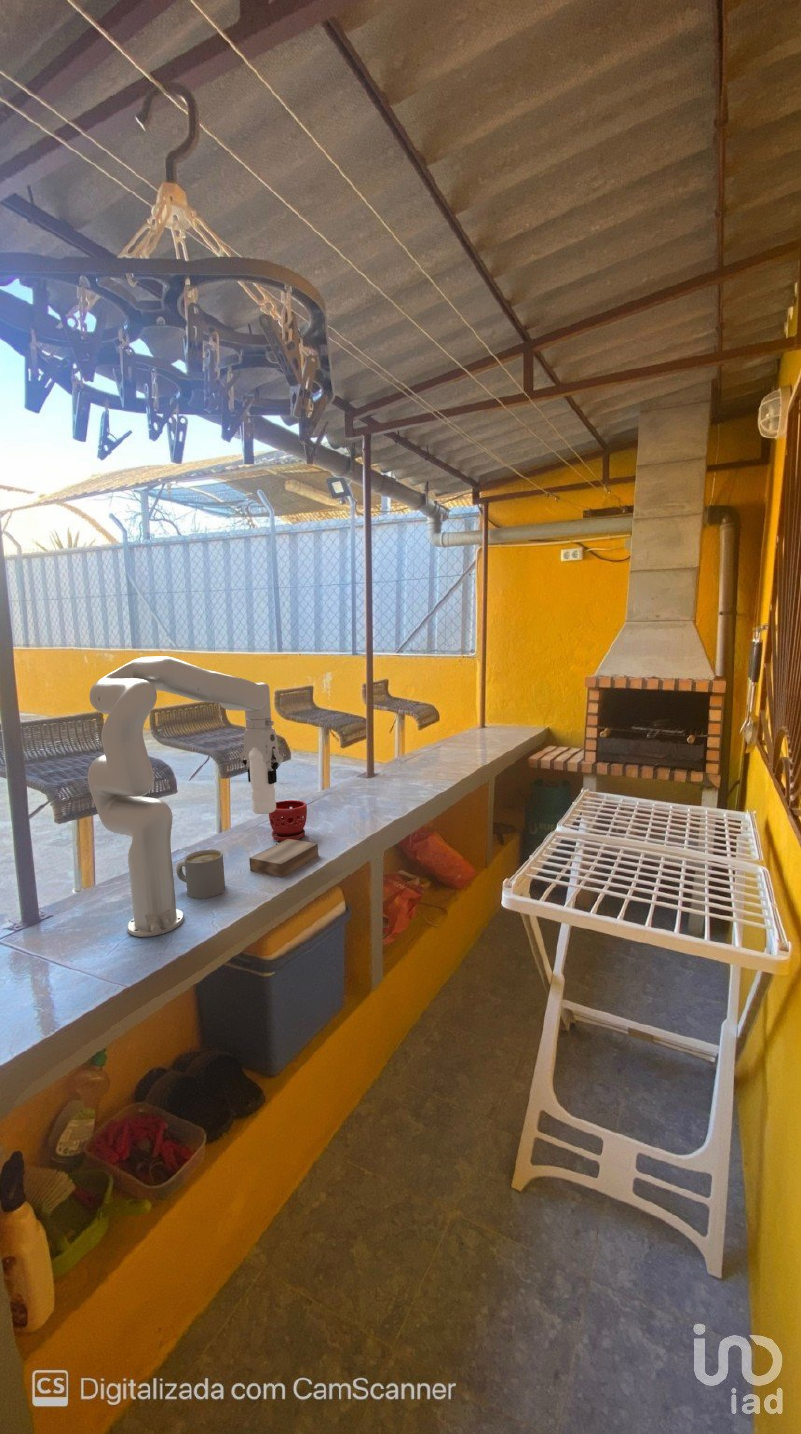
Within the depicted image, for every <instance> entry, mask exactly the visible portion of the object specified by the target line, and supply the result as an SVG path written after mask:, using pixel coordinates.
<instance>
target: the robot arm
mask: <svg viewBox="0 0 801 1434" xmlns="http://www.w3.org/2000/svg"><path fill="white" fill-rule="evenodd" d="M90 688H91V689H90V691H89V702H90V704H91V706H92V707H93V708H94V709H95V710H96V711H97V712H99V713H102V714H105V715H107V717H106V719H105V721H104V723H103V726H102V730H101V735H100V737H101V740H100V741H101V745H102V748H103V752H104V754H102V755H99V756H98V757H96V758H95V759H94V760H93V761H92V762H91V764H90V765H89V768H88V770H87V783H88V789H89V791H90V794H91V797H92V801H93V803H94V806H95V808H96V812H97V814H98V817H99V819H100V822H101V824H102V825H103V827H104V828H105V829H106V830H107V831H109V832H111V833H113V834H119V835H124V836H129V837H131V838H132V840H131V844H130V846H129V849H128V853H127V865H128V873H129V882H130V883H129V884H130V892H131V903H132V912H133V918H132V919H131V920H129V922H128V923H127V925H126V927H127V932H128V934H130V935H132V936H134V937H140V938H148V937H155V936H160V935H164V934H165V933H168V932H171V931H173V930H175V929H176V928H178V927H179V926H181V924H182V923H183V922H184V918H185V915H184V912H183V911H182V910H180V909H178V908H177V904H176V903H177V902H176V893H175V892H176V891H175V881H174V880H175V879H174V870H173V868H174V867H173V859H172V846H171V844H172V842H171V840H172V838H171V836H172V828H173V827H172V826H173V811H172V808H171V807H170V806H169V805H168V804H167V802H165V801H163V800H161V799H159V798H156V797H149V796H145V795H147V794H148V793H151V791H152V789H153V788H154V784H155V775H154V770H153V766H152V763H151V760H150V756H149V754H148V751H147V747H146V743H145V738H144V726H145V723H146V721H147V719H148V717H149V715H150V714H151V712H152V711H153V709H154V708H155V705H156V703H157V699H158V694H157V691H160V692H166V693H169V694H172V695H175V696H180V697H184V698H186V699H187V698H188V699H189V700H190V699H191V700H194V701H197V702H204V703H215V704H216V703H217V704H219V706H220V707H221V708H223V709H225V710H228V711H236V712H238V711H239V712H240V711H244V717H245V718H244V719H245V728H244V733H243V734H244V735H243V751H241V753H240V754H239V756H238V757H239V758H240V760H241V761H242V764H243V765H244V767H245V769H246V770H247V780H248V783H251V780H250V759H249V753H250V751H251V750H252V748H254V747H255V748H257V749H258V750H256V751H260V752H261V754H262V755H263V762H266V764H267V766H268V768H269V770H270V771H268V783H269V784H273V783H274V784H275V783H277V779H278V778H277V770H278V768H279V767H280V766H281V764H282V763H283V761H284V756H283V755H282V754H280V752H279V744H278V738H277V734H276V730H275V728H274V727H273V726H274V724H275V722H274V721H273V720H272V708H271V707H272V706H271V695H270V694H271V693H270V692H271V691H270V686H269V684H268V683H266V682H253V681H251V680H249V679H244V678H242V677H238V676H233V675H229V674H225V673H221V672H219V671H214V670H213V671H212V670H208V669H205V668H203V667H200V666H197V665H194V664H191V663H188V662H186V661H184V660H181V659H178V658H176V657H175V658H174V657H171V656H165V655H164V656H163V655H161V656H142V657H138V658H135V659H132V660H131V661H129V662H127V663H126V664H124V665H122V666H121V667H119V668H117V669H115V670H114V671H111V672H110V673H108V674H106V675H104V676H102V678H99V679H98V680H97V681H96V682H95V683H94V684H93V685H92V687H90ZM263 737H264V738H263ZM272 754H273V755H272ZM271 757H272V758H271ZM271 762H272V765H271Z"/></svg>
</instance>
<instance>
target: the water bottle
mask: <svg viewBox="0 0 801 1434" xmlns="http://www.w3.org/2000/svg"><path fill="white" fill-rule="evenodd" d="M263 738H264V737H263ZM256 750H258V749H257V748H255V747H254V748H252V750H251V751H250V753H249V759H250V780H251V782H250V786H251V787H250V788H251V790H250V791H251V794H250V795H251V800H252V802H251V805H252V806H251V808H252V812H253V813H254V814H256V815H266V814H267V815H269V813H272V812H274V811H275V810H276V802H277V801H276V789H275V783H273V784H269V783H268V771H270V770H269V768H268V766H267V764H266V762H263V755H262V754H261V752H260V751H256ZM272 755H273V754H272ZM271 758H272V757H271ZM271 765H272V762H271Z"/></svg>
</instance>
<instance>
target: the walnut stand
mask: <svg viewBox="0 0 801 1434" xmlns="http://www.w3.org/2000/svg"><path fill="white" fill-rule="evenodd" d="M318 856H319V844H318V843H316V842H311V841H310V842H309V841H303V840H299V839H297V840H292V839H286V840H284V841H280V842H278V843H277V844H275V845H274V844H273V846H271V847H269V848H266V849H265V850H262V851H260V852H259V853H256V854H255V855H252V856H251V857H249V858H248V859H249V867H250V868H249V870H250V872H254V873H259V874H264V875H269V876H273V875H274V877H278V876H279V877H278V878H283V877H286V875H288V874H290V873H293V871H295V870H297V869H298V868H301V867H302V866H303V865H305V864H307V863H308V861H309V862H311V861H312V860H314V859H316V858H317V857H318ZM306 862H307V863H306Z"/></svg>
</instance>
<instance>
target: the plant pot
mask: <svg viewBox="0 0 801 1434" xmlns="http://www.w3.org/2000/svg"><path fill="white" fill-rule="evenodd" d="M307 814H308V804H307V803H306V802H305V801H304V800H303V801H302V800H295V799H294V800H293V799H291V800H281V801H276V810H275V811H274V812H272V813H268V819H269V824H270V826H271V827H270V828H271V829H272V832H271V837H272V839H274V840H276V841H280V842H282V841H284V840H286V839H292V840H299V839H302V838H303V837H304V836H305V834H306V830H305V829H304V828H305V826H306V823H307V818H308V817H307V816H308V815H307Z"/></svg>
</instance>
